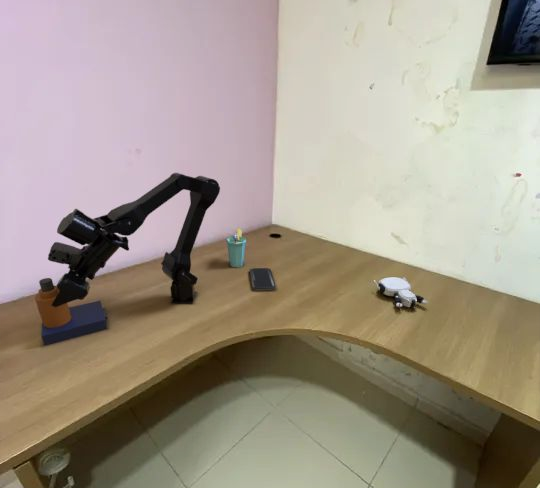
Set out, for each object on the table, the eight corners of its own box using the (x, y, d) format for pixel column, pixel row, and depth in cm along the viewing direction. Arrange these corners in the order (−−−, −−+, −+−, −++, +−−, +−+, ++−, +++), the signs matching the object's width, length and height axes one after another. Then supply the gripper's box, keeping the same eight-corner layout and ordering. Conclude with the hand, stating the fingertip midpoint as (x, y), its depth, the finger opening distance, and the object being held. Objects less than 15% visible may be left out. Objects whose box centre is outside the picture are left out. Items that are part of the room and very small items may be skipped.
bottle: (76, 314, 84) (65, 274, 79) (63, 328, 78) (50, 286, 73) (52, 313, 84) (40, 274, 78) (37, 327, 78) (23, 286, 73)
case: (104, 308, 92) (102, 299, 91) (109, 328, 84) (107, 319, 82) (45, 322, 85) (42, 313, 84) (44, 345, 77) (41, 335, 75)
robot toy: (428, 310, 100) (400, 285, 112) (432, 299, 98) (403, 274, 110) (394, 314, 97) (370, 288, 110) (398, 303, 95) (373, 277, 107)
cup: (245, 273, 116) (245, 236, 110) (224, 273, 116) (223, 235, 110) (246, 258, 129) (247, 224, 122) (228, 257, 129) (227, 223, 122)
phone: (269, 268, 119) (275, 287, 105) (269, 270, 119) (275, 290, 106) (249, 268, 118) (252, 287, 104) (249, 271, 118) (252, 290, 105)
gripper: (74, 220, 81) (35, 263, 82) (57, 246, 65) (10, 299, 66) (112, 246, 87) (76, 285, 88) (105, 275, 71) (61, 323, 72)
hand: (57, 296), depth 78 cm, fingers open, 9 cm apart
